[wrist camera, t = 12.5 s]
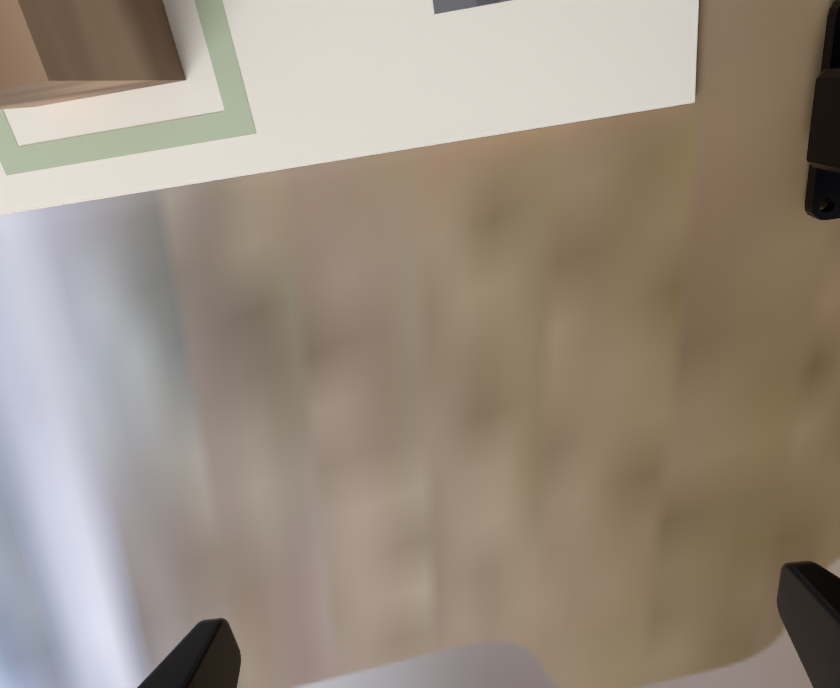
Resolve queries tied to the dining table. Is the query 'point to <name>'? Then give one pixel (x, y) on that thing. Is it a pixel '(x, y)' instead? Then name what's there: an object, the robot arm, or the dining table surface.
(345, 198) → the dining table surface
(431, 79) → the white flat sheet
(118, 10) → the walnut block
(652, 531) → the dining table surface
